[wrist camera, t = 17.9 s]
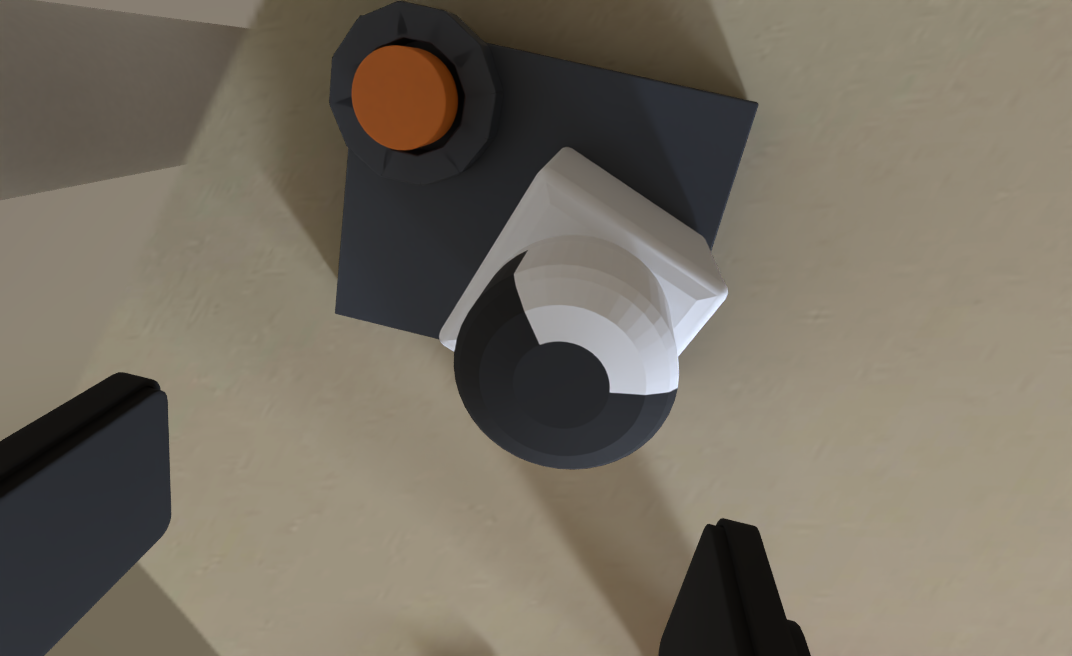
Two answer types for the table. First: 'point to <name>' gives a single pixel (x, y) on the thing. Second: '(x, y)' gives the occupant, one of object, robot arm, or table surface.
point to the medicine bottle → (580, 319)
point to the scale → (506, 160)
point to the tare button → (404, 97)
